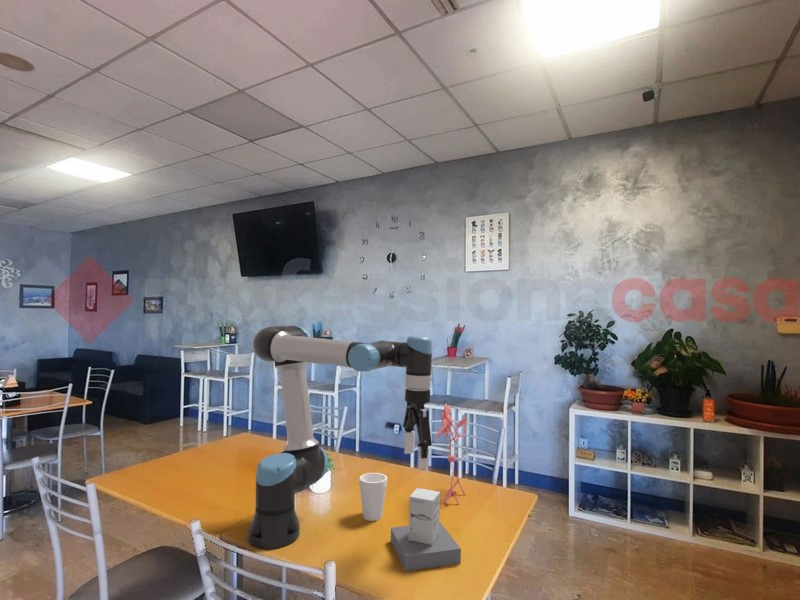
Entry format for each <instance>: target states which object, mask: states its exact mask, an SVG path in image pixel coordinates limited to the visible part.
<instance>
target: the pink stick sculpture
mask: <svg viewBox="0 0 800 600" xmlns="http://www.w3.org/2000/svg"><path fill="white" fill-rule="evenodd" d="M451 407H452V406H451V405H448V404H447V403H445V404H444V408H443V412H441V416H440V417H441V421H442V422H441V423H442V424H441V425H442V426H441V428H439V430H438V431H437V433H436V435H435V437H434V440H437V439H438V437H440V436H441V434H442V435H443V436H444V435H445V437H446V438H449V435H451V437H452V438H451V439H450V440H449V455H448V458H447V460H448V462H449V463H450V467H451V470H452V472H451V473H452V474H451V475H452V476H451V480H450V481H451V482H450V487H449V489H448V490H447V492H446V494H445V496H444V500H443V504H446V502H447V501H448V500H449V499H450V498H451V496H452V495H453V497H454V498H455V502H456V504H457V505H459V504H460V503H459V500H458V498H457V496H456V494H455V492H454V488H455V487H456V486H457V485H459V487H460V490H461V491H462V494H463V496H465V495H466V493H465V491H464V488H463V486H462V484H461V481H460V480H461V477H459V471H460V469H459V468H460V461H459V460H458V459H456V456H455V455H454V454H452V441H453V443H456V441H457V439H458V438H460V437H461V438H465V437H466V429H467V423H468V416H466V417H465V418H463V419H462V420H460V421H459V422H458V423H457V426H456V427H457V429H460V428H461V427H462V426H464V429H463V435H461V434H460V433H458V431H457V429H456V427H455V425H454V423H453V421H452V417H451V411H452V410H451V409H452V408H451ZM451 427H453V430H454V432H455V434H456V436H454V434H453V432H452V429H451ZM454 462H457V474H456V475H457V477H456V478H457V479H456V481H455V482H454V484H453V479H454V473H455V471H454V467H453V464H452V463H454ZM467 489H469V490H471V488H470V487H467ZM431 490H432V491H434V488H432V489H431Z"/></svg>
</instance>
